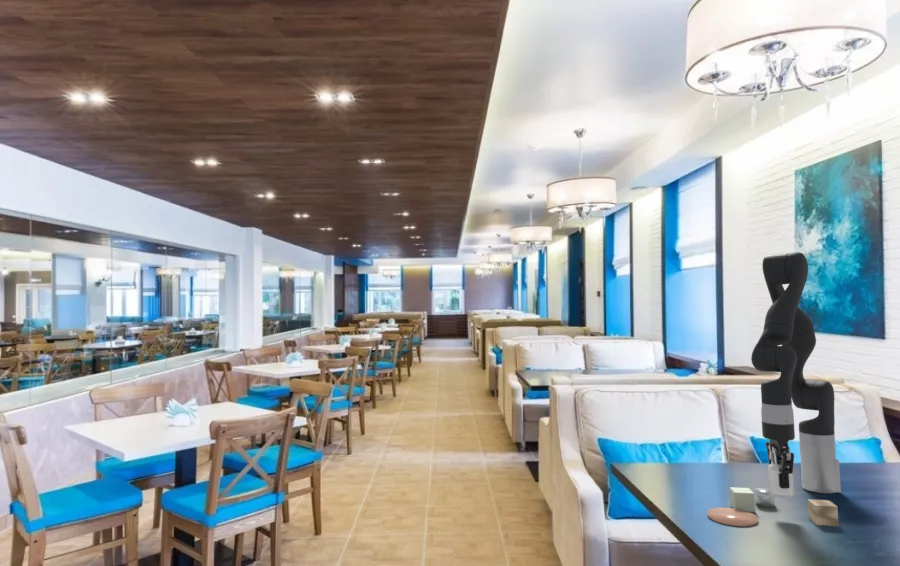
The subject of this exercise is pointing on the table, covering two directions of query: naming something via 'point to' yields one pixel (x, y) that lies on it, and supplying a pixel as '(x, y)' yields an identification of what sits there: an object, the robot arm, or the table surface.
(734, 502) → the sage block
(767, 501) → the steel puck
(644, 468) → the table surface
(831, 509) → the oak block
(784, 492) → the eye dropper bottle
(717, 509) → the salmon disc
